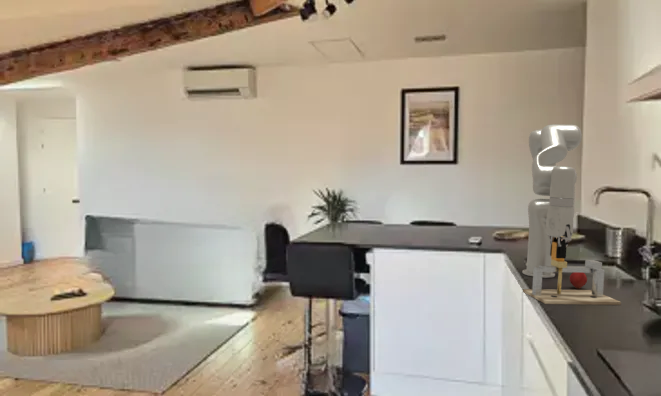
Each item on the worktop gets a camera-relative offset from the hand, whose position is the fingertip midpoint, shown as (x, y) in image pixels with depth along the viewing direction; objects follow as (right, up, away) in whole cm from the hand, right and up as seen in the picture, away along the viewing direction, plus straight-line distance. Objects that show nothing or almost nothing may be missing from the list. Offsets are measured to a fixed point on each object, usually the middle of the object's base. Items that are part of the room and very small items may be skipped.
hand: (557, 256), depth 178 cm
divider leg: (0, -12, 0) cm, 12 cm away
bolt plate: (+5, -14, +1) cm, 15 cm away
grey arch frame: (+4, -13, 0) cm, 14 cm away
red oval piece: (+14, -14, +16) cm, 26 cm away
